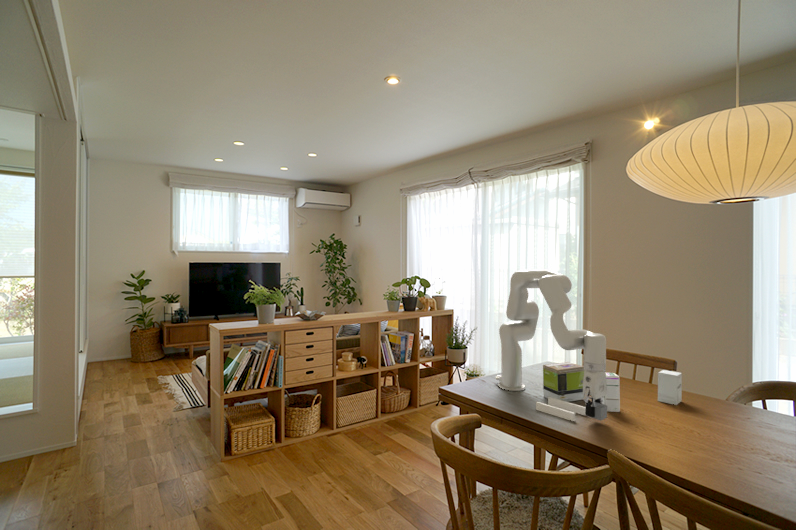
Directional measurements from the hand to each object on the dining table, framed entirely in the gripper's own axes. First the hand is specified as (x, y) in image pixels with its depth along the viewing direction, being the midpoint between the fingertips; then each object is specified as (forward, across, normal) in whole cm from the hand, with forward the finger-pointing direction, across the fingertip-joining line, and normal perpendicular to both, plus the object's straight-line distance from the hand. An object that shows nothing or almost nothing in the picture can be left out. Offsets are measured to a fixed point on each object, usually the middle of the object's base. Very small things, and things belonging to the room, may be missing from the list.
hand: (593, 413), depth 152 cm
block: (+1, 0, -1) cm, 1 cm away
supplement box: (+4, +49, -10) cm, 50 cm away
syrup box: (+4, +19, +2) cm, 19 cm away
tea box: (+4, +17, +21) cm, 27 cm away
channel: (+3, 0, +13) cm, 13 cm away
